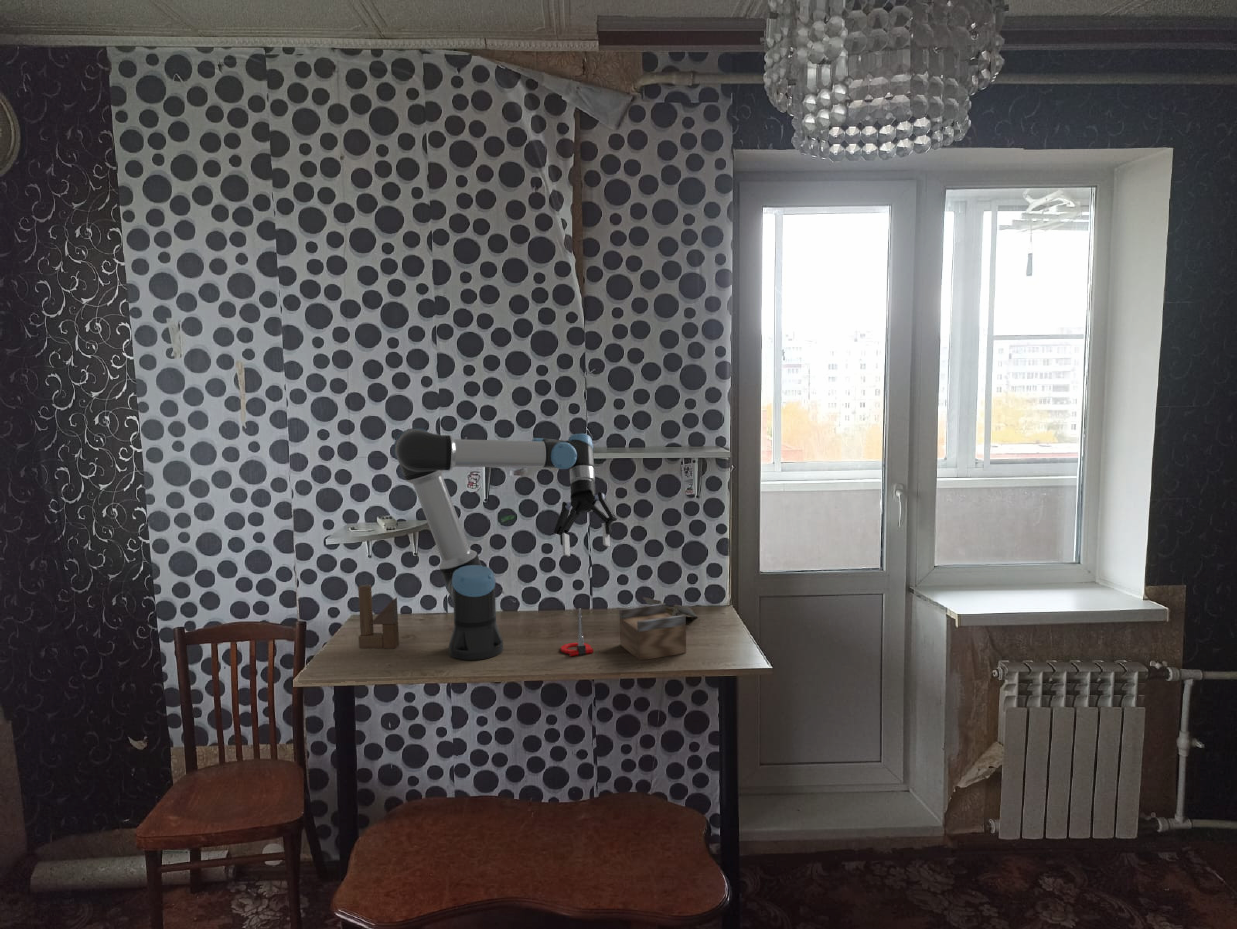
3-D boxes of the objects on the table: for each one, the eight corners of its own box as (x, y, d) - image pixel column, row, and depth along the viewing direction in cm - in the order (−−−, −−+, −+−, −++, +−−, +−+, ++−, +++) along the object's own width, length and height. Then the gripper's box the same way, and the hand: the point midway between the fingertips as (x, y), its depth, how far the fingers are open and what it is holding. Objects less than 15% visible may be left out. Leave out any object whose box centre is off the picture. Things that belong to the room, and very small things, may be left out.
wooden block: (395, 649, 226) (392, 587, 224) (358, 648, 227) (355, 587, 225) (399, 644, 229) (396, 584, 228) (363, 644, 230) (360, 584, 228)
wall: (640, 630, 251) (634, 610, 239) (648, 605, 255) (642, 585, 243) (690, 642, 246) (686, 623, 234) (697, 617, 250) (694, 597, 238)
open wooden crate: (639, 660, 213) (639, 622, 212) (620, 644, 226) (619, 609, 224) (686, 653, 218) (685, 616, 217) (664, 638, 231) (664, 603, 230)
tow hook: (556, 649, 224) (568, 658, 216) (554, 604, 224) (566, 611, 215) (584, 645, 228) (596, 653, 219) (582, 600, 227) (594, 607, 219)
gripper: (624, 477, 235) (630, 544, 227) (554, 496, 246) (557, 562, 237) (612, 469, 229) (617, 538, 220) (541, 489, 239) (543, 556, 231)
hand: (586, 550), depth 229 cm, fingers open, 13 cm apart
